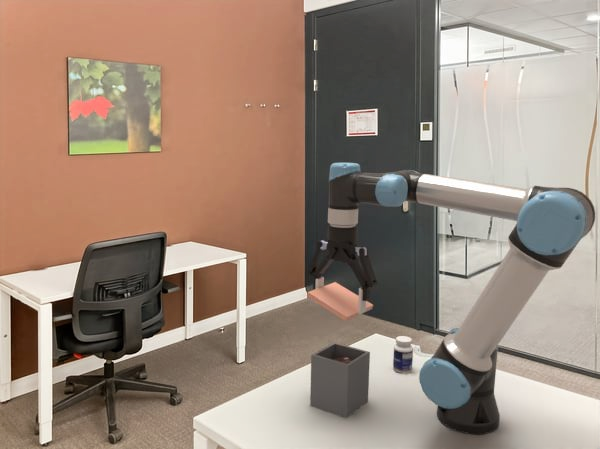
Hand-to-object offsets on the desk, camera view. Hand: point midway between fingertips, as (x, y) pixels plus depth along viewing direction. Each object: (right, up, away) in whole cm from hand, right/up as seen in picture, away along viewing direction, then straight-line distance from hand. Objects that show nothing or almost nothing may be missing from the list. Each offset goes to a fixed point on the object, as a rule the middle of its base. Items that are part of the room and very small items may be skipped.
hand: (340, 307), depth 144 cm
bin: (0, -26, +5) cm, 27 cm away
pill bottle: (+21, -23, +26) cm, 41 cm away
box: (0, -26, +5) cm, 27 cm away
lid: (0, +1, 0) cm, 1 cm away
